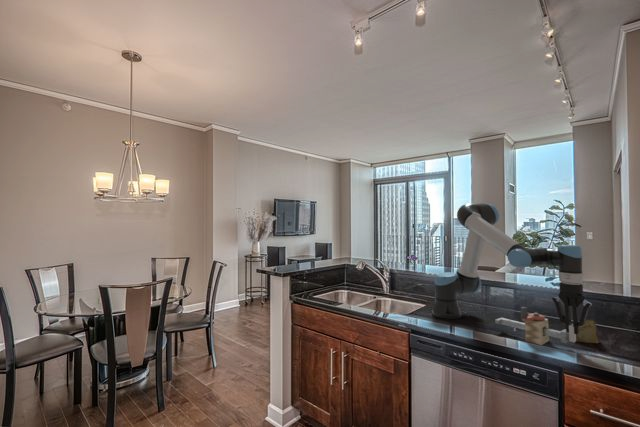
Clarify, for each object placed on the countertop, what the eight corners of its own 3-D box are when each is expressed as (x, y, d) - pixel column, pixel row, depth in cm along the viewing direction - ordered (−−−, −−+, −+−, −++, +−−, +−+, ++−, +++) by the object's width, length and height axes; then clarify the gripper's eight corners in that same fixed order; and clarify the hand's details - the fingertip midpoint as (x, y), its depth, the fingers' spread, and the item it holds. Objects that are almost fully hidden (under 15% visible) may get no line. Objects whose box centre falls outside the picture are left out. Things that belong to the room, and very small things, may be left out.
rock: (566, 336, 135) (596, 339, 128) (565, 317, 140) (594, 319, 133) (572, 346, 141) (601, 349, 134) (571, 328, 145) (599, 330, 138)
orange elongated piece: (534, 315, 141) (533, 303, 141) (548, 319, 136) (547, 306, 136) (515, 319, 136) (515, 306, 137) (529, 323, 131) (529, 309, 131)
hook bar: (495, 326, 149) (495, 316, 149) (501, 323, 152) (501, 314, 152) (564, 343, 126) (564, 332, 126) (570, 340, 130) (569, 329, 130)
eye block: (525, 340, 137) (524, 319, 137) (533, 336, 142) (532, 315, 142) (541, 345, 132) (540, 322, 132) (548, 340, 137) (548, 319, 137)
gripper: (548, 281, 130) (550, 338, 130) (588, 286, 120) (590, 348, 119) (555, 279, 135) (557, 334, 134) (594, 284, 124) (596, 344, 123)
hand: (572, 341), depth 127 cm, fingers closed
